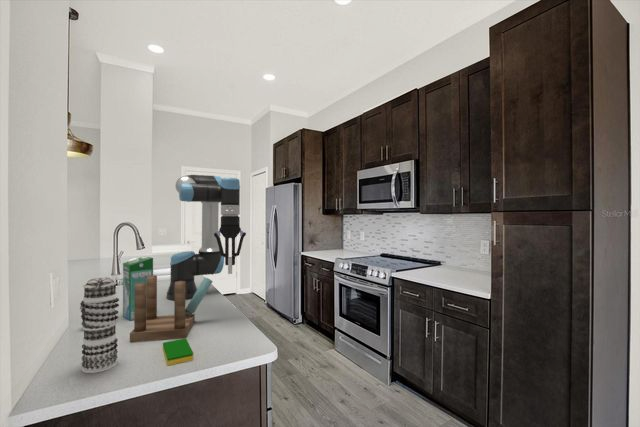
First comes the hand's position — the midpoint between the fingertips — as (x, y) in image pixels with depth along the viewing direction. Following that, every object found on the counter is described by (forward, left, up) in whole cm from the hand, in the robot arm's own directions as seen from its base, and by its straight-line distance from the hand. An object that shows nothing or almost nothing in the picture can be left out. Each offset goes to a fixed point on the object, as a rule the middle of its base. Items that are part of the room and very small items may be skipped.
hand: (230, 273), depth 130 cm
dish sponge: (+28, -14, -20) cm, 38 cm away
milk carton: (-15, -39, -20) cm, 46 cm away
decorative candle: (+32, -34, -20) cm, 51 cm away
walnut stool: (+6, -23, -20) cm, 31 cm away
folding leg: (0, -16, -14) cm, 21 cm away
